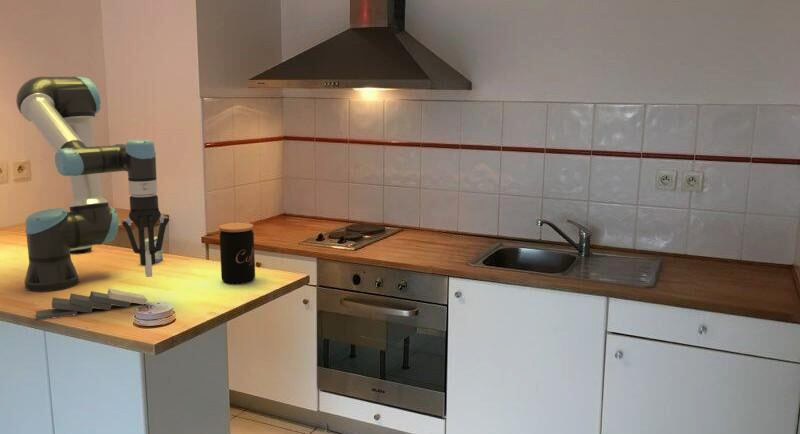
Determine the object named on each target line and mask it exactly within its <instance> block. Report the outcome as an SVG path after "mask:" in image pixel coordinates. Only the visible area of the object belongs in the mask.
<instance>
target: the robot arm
mask: <svg viewBox="0 0 800 434" xmlns="http://www.w3.org/2000/svg"><path fill="white" fill-rule="evenodd" d="M15 99H16V106H17V109H18V111H19V113H20V114H21V115H22V117H23V118H24V119H25V120H27V121H29V122H31V123H32V124H33V125H34V127H36V129H37V130H38V132H39V133H40V134H41V136H43V138H44V139H45V140H46V143H48V144H49V146H50V147H51V149H53V151H54V152H55V155H54V164H55V167H56V169H57V172H58V174H60V175H61V176H64V177H67V176H68V177H69V179H70V185H71V186H70V187H71V192H72V199H73V201H72V202H71V203H70V205H69V206H68V207H69V211H67V210H66V208H62V207H60V208H59V207H58V208H57V207H55V208H48V209H42V210H40V211H37V212H34V213H31V214H30V215H28V216H27V217H26V219H25V230H24V231H25V232H24V233H25V234H26V243H27V253H28V267H27V270H26V275H25V278H24V288H25V289H26V290H28V291H32V292H51V291H52V292H53V291H58V290H59V291H60V290H64V289H68V288H71V287H74V286H76V285H78V284H79V282H80V280H79V274H78V271H77V269H76V267H75V265H74V262H73V261H72V258H71V253H70V249H73V248H80V247H86V246H92V247H93V246H96V245H97V246H101V245H104V244H106V243H110V242H112V241H114V240H115V238H116V237H117V234H118V230H119V217H118V216H119V215H118V213H117V210H116V209H115V208H114V207H112V206H110V205H109V201H108V200H107V199H105V198H104V197H103V191H102V186H101V179H100V174H106V173H117V172H127V178H128V179H127V180H128V194H130V196H129V208H130V209H129V210H130V211H129V214H128V216H127V218H125V219H122V220H121V221H120V223H121V224H122V226H123V228H124V229H125V231H126V234H127V236H128V237H127V238H128V240H129V242H130V245H131V248H132V251H133V252H134V253H135V254H138V255H139V254H140V257H139V260H140V259H141V264H142V265H141V266H144V272H145V273H144V274H145V276H146V278H150V277H151V278H152V277H153V265H152V264H154V265H155V253H156V252H157V251H161V248H162V249H163V243H164V237H165V231H166V228H167V227H166V226H167V225H168V224H169V222H170V219H169V218H168V216H164V215H162V214H161V211H160V209H159V196H158V195H157V194H158V181H157V180H158V179H157V178H158V177H157V157H156V155H157V152H156V148H155V143H154V141H153V140H152V139H129V140H127V141H126V143H117V144H116V143H115V144H112V145H102V146H96V145H95V139H94V133H93V127H92V124H93V122H94V120H96V114H97V113H99V112H100V110H101V104H102V103H101V101H102V100H101V96H100V92H99V90H98V88H97V86H96V84H95V82H94V81H92V79H90V78H88V77H80V76H76V75H75V76H37V77H32V78H30V79H29V80H27V81H25V82H24V83H23V84H22V85H21V86H20V88H19V89H18V91H17V95H16V98H15ZM158 221H159V223H160V224H159V227H158V233H157V236H156V237H157V242H156V247H155V244H154V237H155V234H154V232H155V231H154V230H155V227H154V226H155V225H156V224H157V222H158ZM132 222H133V224H134V225H135V226H136V227H137V230H138V242H139V244H138V243H136V239H135V237H134V233H133V230H132V228H131V226H132ZM145 228H147V236H148V237H147V238H148V240H149V251H150V253H145V239H146V238H145ZM137 244H138V246H137ZM139 248H140V249H139Z"/></svg>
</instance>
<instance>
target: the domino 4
mask: <svg viewBox="0 0 800 434" xmlns="http://www.w3.org/2000/svg"><path fill="white" fill-rule="evenodd" d="M89 297H90V298H91V300H92V301H93V302H99V303H105V304H111V306H112V305H113V306H118V307H125V308H130V305H131V303H132V302H127V301H121V300H115V299H110V298H109V296H108V295H107V293H104V292H100V291H99V292H98V291H94V290H93V291H90V294H89Z"/></svg>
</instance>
